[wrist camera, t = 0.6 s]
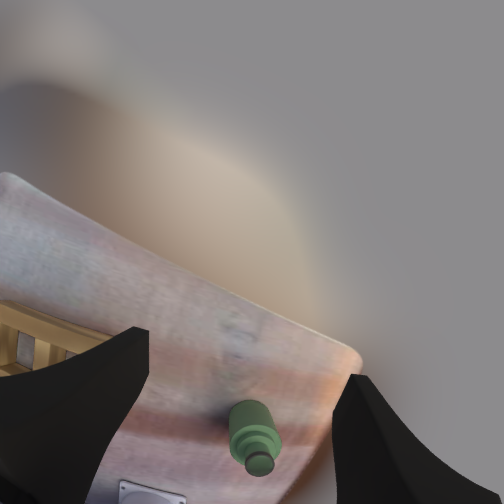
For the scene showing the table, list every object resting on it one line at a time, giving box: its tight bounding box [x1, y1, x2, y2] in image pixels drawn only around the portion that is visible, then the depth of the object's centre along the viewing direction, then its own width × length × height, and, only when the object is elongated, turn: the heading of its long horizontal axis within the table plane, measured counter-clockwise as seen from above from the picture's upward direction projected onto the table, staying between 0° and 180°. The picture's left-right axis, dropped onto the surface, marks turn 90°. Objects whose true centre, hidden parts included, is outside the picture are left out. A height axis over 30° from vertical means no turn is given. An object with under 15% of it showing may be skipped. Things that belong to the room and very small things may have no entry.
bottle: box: [229, 400, 282, 477], centre depth 25 cm, size 4×4×10 cm
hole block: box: [0, 300, 114, 377], centre depth 27 cm, size 9×17×4 cm, turn 79°
